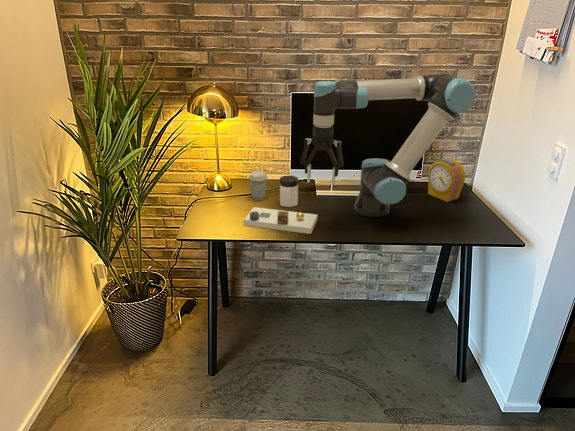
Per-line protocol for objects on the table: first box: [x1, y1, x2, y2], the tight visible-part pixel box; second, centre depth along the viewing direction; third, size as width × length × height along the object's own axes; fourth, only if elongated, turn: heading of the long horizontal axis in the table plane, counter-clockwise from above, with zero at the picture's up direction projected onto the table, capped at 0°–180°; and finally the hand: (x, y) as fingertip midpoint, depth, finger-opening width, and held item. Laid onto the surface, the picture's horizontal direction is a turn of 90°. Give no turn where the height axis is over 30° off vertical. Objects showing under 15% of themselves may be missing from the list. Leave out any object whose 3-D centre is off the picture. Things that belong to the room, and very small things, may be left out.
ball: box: [296, 211, 304, 220], centre depth 185 cm, size 3×3×3 cm
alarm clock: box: [427, 158, 466, 203], centre depth 212 cm, size 15×8×18 cm, turn 33°
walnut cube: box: [277, 210, 288, 225], centre depth 182 cm, size 4×4×4 cm
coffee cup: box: [248, 170, 268, 201], centre depth 209 cm, size 8×8×12 cm
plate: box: [243, 206, 319, 235], centre depth 188 cm, size 28×13×2 cm, turn 75°
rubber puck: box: [249, 212, 259, 221], centre depth 185 cm, size 4×4×2 cm
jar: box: [279, 175, 299, 208], centre depth 204 cm, size 9×8×12 cm
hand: (320, 182), depth 177 cm, fingers open, 9 cm apart
